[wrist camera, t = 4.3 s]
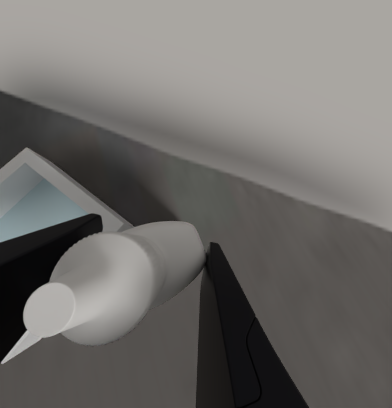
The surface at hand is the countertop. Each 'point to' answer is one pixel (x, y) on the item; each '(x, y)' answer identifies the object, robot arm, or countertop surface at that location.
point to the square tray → (44, 206)
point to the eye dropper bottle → (114, 282)
